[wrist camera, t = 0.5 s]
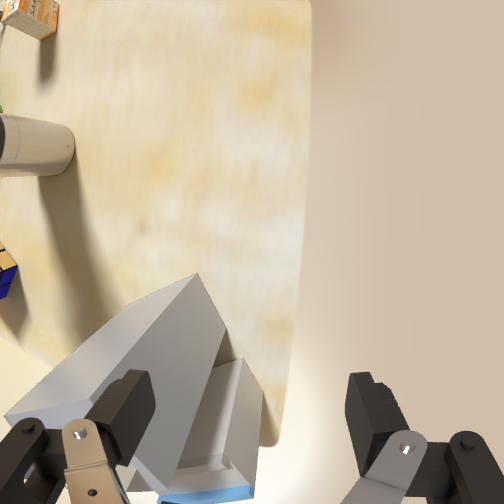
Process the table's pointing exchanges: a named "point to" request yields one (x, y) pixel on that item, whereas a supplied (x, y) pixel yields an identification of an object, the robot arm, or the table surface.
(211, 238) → the table surface
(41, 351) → the table surface
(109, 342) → the tower
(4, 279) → the puzzle cube
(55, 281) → the table surface
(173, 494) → the bezel riser
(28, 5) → the supplement box
